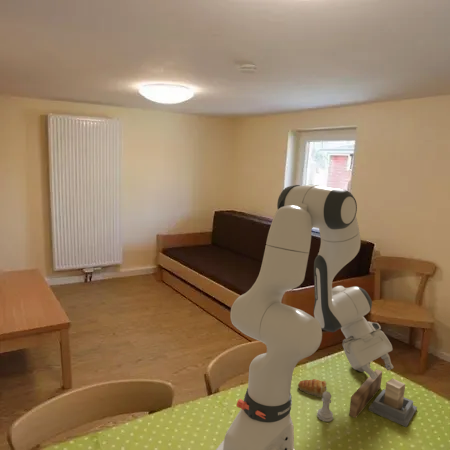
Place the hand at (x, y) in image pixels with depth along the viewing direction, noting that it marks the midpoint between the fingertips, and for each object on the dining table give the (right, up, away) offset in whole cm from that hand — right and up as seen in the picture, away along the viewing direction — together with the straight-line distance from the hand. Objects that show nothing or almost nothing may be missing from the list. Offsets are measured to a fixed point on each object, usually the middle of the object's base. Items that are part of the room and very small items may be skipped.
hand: (383, 373), depth 118 cm
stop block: (+2, -10, -2) cm, 10 cm away
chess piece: (-20, -11, -6) cm, 23 cm away
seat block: (+2, -11, -1) cm, 11 cm away
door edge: (-4, -10, +3) cm, 11 cm away
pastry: (-20, -9, +7) cm, 23 cm away
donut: (0, -7, +22) cm, 23 cm away
